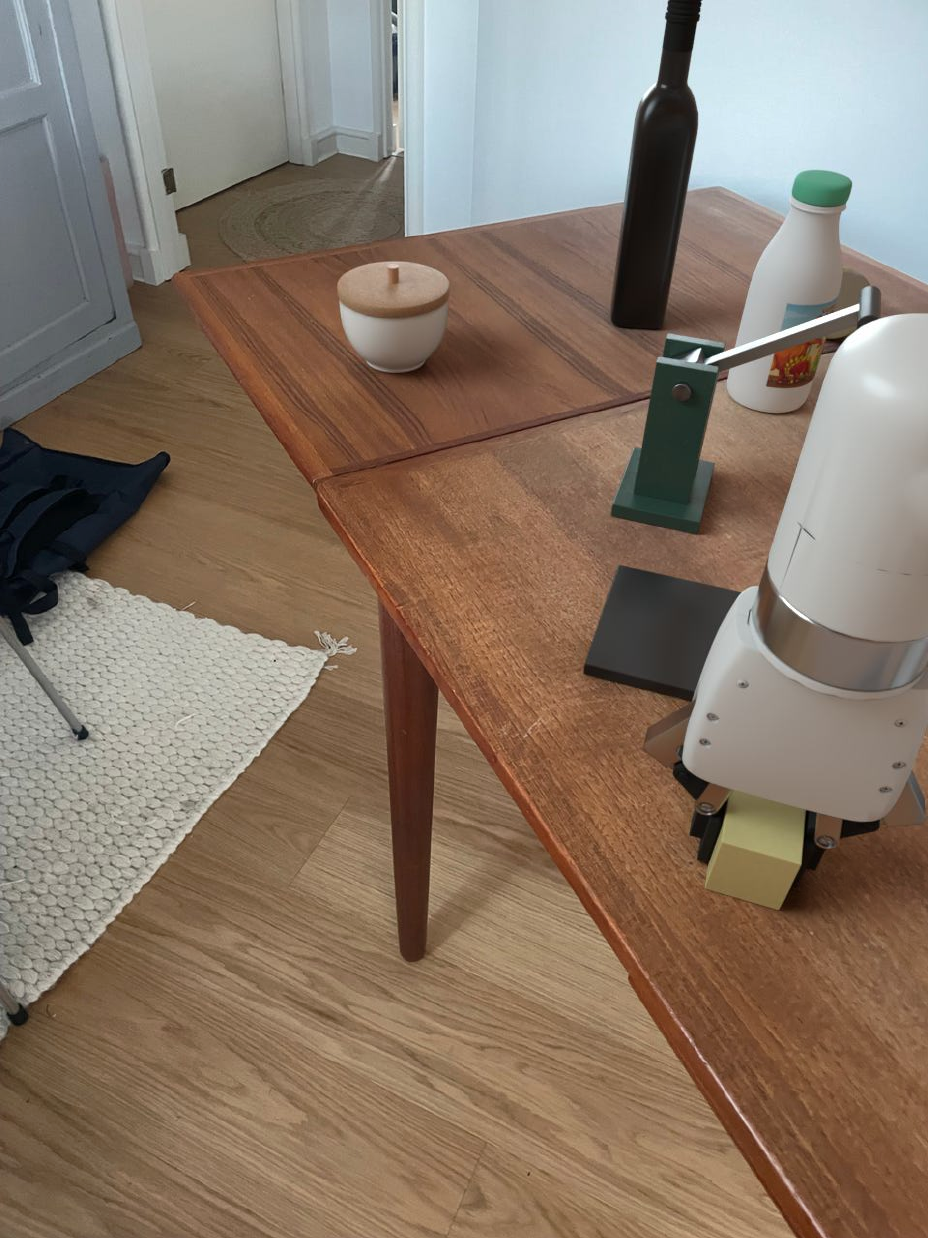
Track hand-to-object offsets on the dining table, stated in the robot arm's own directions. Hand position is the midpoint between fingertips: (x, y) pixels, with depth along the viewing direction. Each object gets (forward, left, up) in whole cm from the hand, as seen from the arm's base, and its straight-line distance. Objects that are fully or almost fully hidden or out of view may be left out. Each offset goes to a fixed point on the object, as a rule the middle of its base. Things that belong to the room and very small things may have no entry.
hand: (748, 851), depth 52 cm
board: (+6, -16, 0) cm, 17 cm away
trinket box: (+40, -47, 0) cm, 62 cm away
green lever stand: (+10, -33, 0) cm, 35 cm away
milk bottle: (+4, -53, 0) cm, 53 cm away
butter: (0, 0, 0) cm, 0 cm away
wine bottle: (+19, -65, 0) cm, 68 cm away
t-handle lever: (+5, -33, +13) cm, 36 cm away
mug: (0, -71, 0) cm, 71 cm away
